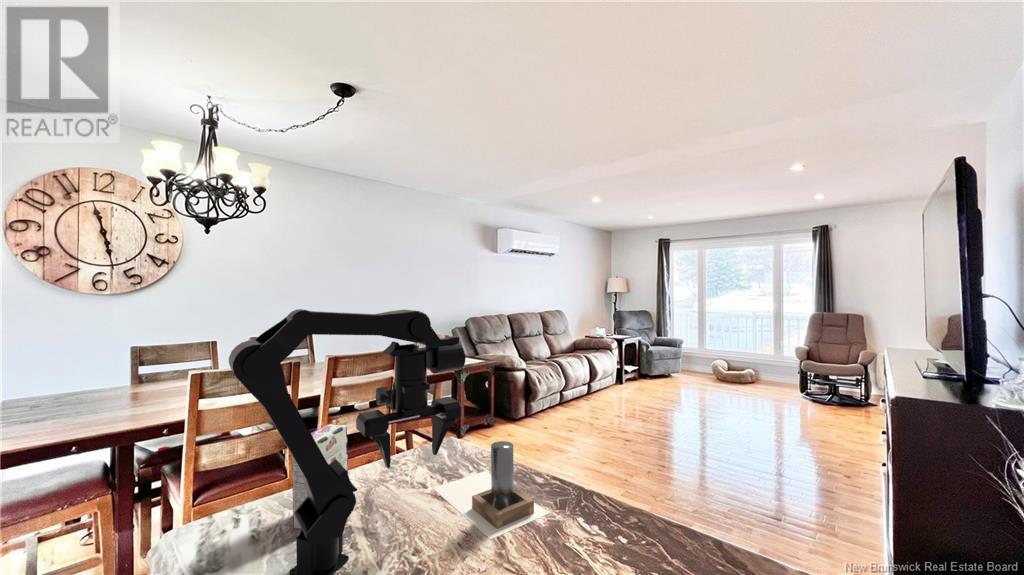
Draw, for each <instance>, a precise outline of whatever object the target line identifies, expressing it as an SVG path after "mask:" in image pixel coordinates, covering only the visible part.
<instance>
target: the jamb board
mask: <svg viewBox="0 0 1024 575" xmlns="http://www.w3.org/2000/svg"><path fill="white" fill-rule="evenodd" d="M490 489H491V472H489V471H487V470H484V471H480V472H478V473H474V474H472V475H469V476H466V477H463V478H459V479H456V480H454V481H450V482H446V483H444V484H441V485H439V486H435V487H432V490H433V491H435V492H436V493H437V494H438V495H439V496H440V497H442V498H443V499H444V500H445V501H446V502H447V503H449V504H450V505H451V507H453V508H454V509H456V510H457V512H459V513H460V514H461V515H462V516H463V517H464V518H466V520H468V521H469V522H470V523H471V524H472V525H473V526H474V527H476V529H478V530H479V531H480V532H482V534H484V535H485V536H486V537H487V538H488V539H489V540H492V539H493V540H494V539H495V538H497V537H499V536H502V535H504V534H506V533H508V532H511V531H513V530H515V529H518V528H521V526H524V525H526V524H528V523H531V522H533V521H535V520H537V519H539V518H542V517H544V516H547V515H549V514H550V511H548V510H546V509H545V508H543V507H541V506H540V505H539V504H538V503H536V502H534V513H533V514H531V515H528V516H526V517H524V518H521V519H519V520H517V521H514V522H512V523H510V524H508V525H505V526H503V527H501V528H498V529H496V528H495V527H494V526H493V525H492V524H490V523H489V522H488V521H487V520H486V519H484V518H483V517H482V516H481V515H480V514H478V513H477V512H476V511H475V510H473V509H472V496H473V495H476V494H479V493H482V492H484V491H487V490H490Z"/></svg>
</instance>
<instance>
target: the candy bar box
mask: <svg viewBox="0 0 1024 575" xmlns="http://www.w3.org/2000/svg"><path fill="white" fill-rule="evenodd" d="M310 433H311V435H312V436H313V438H314V440H315V442H316V444H317V445H318V447H319V449H320V451H321V453H322V454H323V456H324V458H325V460H326V461H327V463H328V464H331V463H332V462H333V461H334V460H335V459H337V461H338V462H339V463H340V464H341V465H342V466H343V467H344V468H345V470H346V471H347V473H348V474H349V466H348V465H349V464H348V463H349V462H348V461H349V460H348V456H349V455H348V453H349V452H348V425H347V424H338V423H336V424H335V423H327V424H326V425H324V426H322V427H320V428H317V429H316V430H314V431H312V432H310ZM291 477H292V478H291V480H292V481H291V482H292V484H291V486H292V514H293V515H292V520H293V522H292V523H293V529H296V530H302V529H301V527H300V525H299V523H298V521H297V519H296V517H295V515H294V512H295V511H296V510H297V509H298V507H299V506H300V505H301V504H302V503H303V501H304V500H305V499H306V498H307V497H308V494H307V491H306V488H305V485H304V480H303V475H302V472H301V470H300V468H299V466H298V465H297V463H296V461H295V460H294V458H293V456H292V455H291Z"/></svg>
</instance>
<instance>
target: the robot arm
mask: <svg viewBox="0 0 1024 575" xmlns="http://www.w3.org/2000/svg"><path fill="white" fill-rule="evenodd" d="M313 335H315V336H316V335H319V336H321V335H324V336H325V335H327V336H328V335H329V336H333V335H334V336H335V335H336V336H381V337H385V338H390V339H395V340H401V341H405V342H410V343H408V344H406V343H405V344H400V343H399V342H397V341H391V342H390V345H389V346H387V347H386V348H385V349H384V350H383V352H382V353H383V355H386V356H389V357H391V358H392V357H394V376H395V377H394V379H395V380H394V381H392V389H389V387H388V386H381V387H376V388H375V402H376V405H377V406H381V405H385V409H387V410H388V409H390V410H391V411H395V412H390V413H384V412H383V411H381V410H380V409H375V410H374V409H373V410H369V411H365V412H359V414H358V415H357V416H356V418H355V429H356V430H357V431H358V432H359V433H361V435H362V436H363V437H365V438H370V439H371V440H373V441H375V443H376V445H377V447H378V449H379V453H380V455H381V457H382V460H383V462H384V466H385V468H387V469H390V468H391V462H392V461H391V459H392V458H391V456H392V454H391V434H390V433H389V432H388V430H389V426H390V425H393V424H398V423H403V422H408V421H413V420H417V419H422V418H426V417H430V419H431V425H432V426H431V427H432V431H431V451H432V455H433V456H437V455H438V453H439V450H440V448H441V446H442V444H443V442H444V439H445V437H446V435H447V433H448V431H449V430H450V428H451V426H452V424H453V423H456V422H457V418H460V417H462V416H463V406H462V404H461V402H460V401H458V400H457V399H454V398H453V397H450V396H444V397H439V398H433V399H432V400H431V402H430V404H428V390H430V388H431V384H430V383H429V382H428V381H427V380H428V379H427V378H428V377H427V376H428V374H427V373H428V372H427V371H428V370H429V371H430V373H432V374H433V375H435V374H442V373H448V372H455V371H460V370H462V369H464V367H465V363H466V353H465V352H464V348H463V346H462V344H461V343H460V337H459V336H454V335H452V336H447V337H442V338H440V337H439V336H438V334H437V333H436V331H435V330H434V329H433V327H432V324H431V320H430V317H429V316H428V314H427V313H425V312H424V311H420V310H413V309H398V310H390V311H385V312H379V313H360V312H359V313H358V312H335V311H316V310H315V311H313V310H311V311H310V310H307V309H300V308H299V309H294V310H292V311H291V312H289V314H287V316H285V317H284V318H283V319H282V320H279V322H277V323H276V324H274V325H273V326H271V327H270V328H268V329H267V330H265V331H264V332H262V333H261V334H260V335H259V336H256V338H255V339H253V340H252V339H251V340H246V341H243V342H240V343H239V344H237V345H236V346H234V348H233V349H232V350H231V352H230V353H229V356H228V365H229V367H230V370H231V371H232V373H233V375H234V376H235V378H236V379H237V380H238V382H240V383H241V384H242V385H243V387H245V388H246V389H247V391H248V392H250V394H251V395H252V396H253V397H254V398H255V399H256V400H257V401H258V402H259V403H260V404H261V406H263V408H264V410H265V412H266V414H267V415H268V417H269V418H270V420H271V422H272V424H273V425H274V427H275V429H276V431H277V433H278V434H279V436H280V437H281V439H282V441H283V442H284V444H285V446H286V448H287V449H288V451H289V453H290V455H291V457H292V456H293V458H294V460H295V461H296V463H297V465H298V466H299V468H300V470H301V472H302V475H303V480H304V485H305V488H306V491H307V494H308V497H307V498H306V499H305V500H304V501H303V503H302V504H301V505H300V506H299V507H298V509H297V510H296V511H295V512H294V515H295V517H296V519H297V521H298V523H299V525H300V527H301V529H300V532H299V535H298V536H296V539H295V541H296V545H295V547H296V550H295V551H296V553H295V554H296V555H295V556H296V565H295V566H293V567H292V568H291V569H290V570H289V571H288V574H289V575H332V574H334V573H335V572H337V570H339V569H340V568H341V567H342V566H343V565H345V564H346V563H347V562H348V561H349V559H350V556H349V555H348V554H343V551H344V548H343V547H344V545H343V544H344V543H343V542H344V539H343V536H344V530H345V528H346V525H347V521H348V518H349V517H350V516H351V514H352V513H353V511H354V510H355V506H356V504H357V496H356V494H355V493H354V492H357V491H358V488H357V487H356V486H355V485H354V483H353V482H352V481H351V480H350V476H349V472H348V473H347V471H346V470H345V468H344V467H343V466H342V465H341V464H340V463H339V462H338V461H337V459H335V460H334V461H333V462H332V463H331V464H328V463H327V461H326V460H325V458H324V456H323V454H322V453H321V451H320V449H319V447H318V445H317V444H316V442H315V440H314V438H313V436H312V435H311V433H312V432H311V431H310V429H309V428H308V426H307V424H306V423H305V420H304V419H303V417H302V415H301V413H300V412H299V410H298V407H297V406H296V404H295V403H294V401H293V399H292V397H291V396H290V393H289V391H288V387H287V386H288V385H287V382H286V377H285V373H284V369H283V367H282V362H283V361H284V360H286V359H287V358H288V357H289V356H290V355H291V354H292V353H293V352H294V351H295V350H296V349H297V348H298V347H299V346H300V344H302V342H303V341H304V340H305V339H306V338H307V337H309V336H313ZM416 344H418V345H419V344H420V345H424V347H423V346H422V347H418V346H417V345H416Z"/></svg>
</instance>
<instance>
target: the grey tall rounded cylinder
mask: <svg viewBox="0 0 1024 575" xmlns="http://www.w3.org/2000/svg"><path fill="white" fill-rule="evenodd" d="M490 474H491V505H492V506H493V507H495V508H496V509H497V510H501V509H504V508H506V507H509V506H511V505H513V504H514V498H513V487H514V444H513V443H512V442H510V441H505V440H500V441H495V442H493V443H491V445H490Z"/></svg>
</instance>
